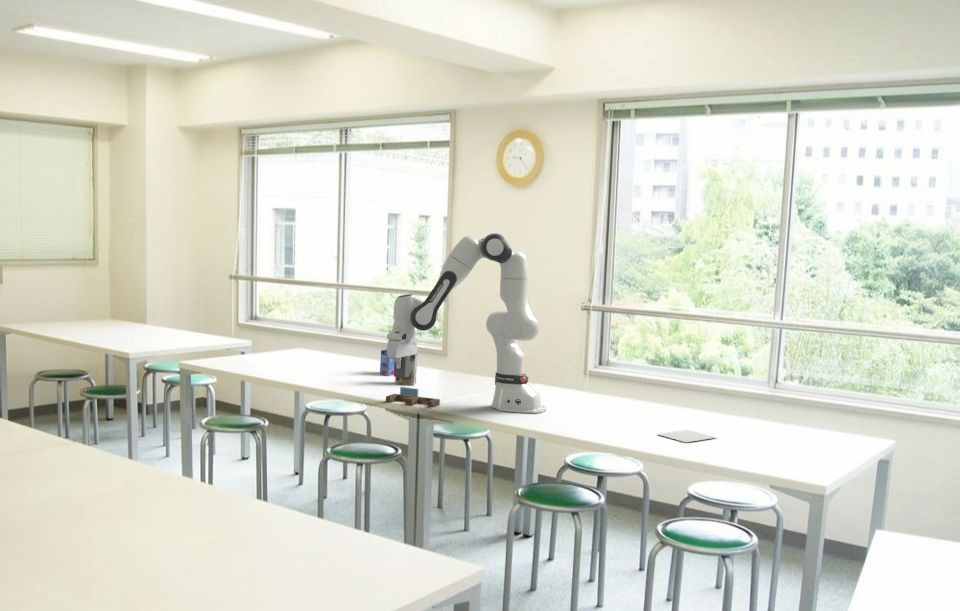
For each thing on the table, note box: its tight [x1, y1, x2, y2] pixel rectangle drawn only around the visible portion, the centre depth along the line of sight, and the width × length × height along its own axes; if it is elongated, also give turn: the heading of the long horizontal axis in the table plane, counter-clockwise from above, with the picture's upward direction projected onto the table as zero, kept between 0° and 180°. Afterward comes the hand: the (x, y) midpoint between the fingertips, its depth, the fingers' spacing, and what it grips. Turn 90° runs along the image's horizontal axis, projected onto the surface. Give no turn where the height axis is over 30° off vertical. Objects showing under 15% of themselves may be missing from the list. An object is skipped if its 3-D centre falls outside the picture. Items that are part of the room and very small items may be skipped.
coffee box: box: [394, 352, 418, 386], centre depth 398 cm, size 9×6×16 cm
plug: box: [393, 357, 410, 378], centre depth 352 cm, size 5×4×8 cm
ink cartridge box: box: [379, 348, 395, 377], centre depth 424 cm, size 10×6×14 cm, turn 153°
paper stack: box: [657, 429, 718, 443], centre depth 306 cm, size 23×25×1 cm
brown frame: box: [385, 386, 441, 408], centre depth 353 cm, size 21×10×5 cm, turn 68°
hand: (402, 367), depth 352 cm, fingers closed on plug, 4 cm apart
